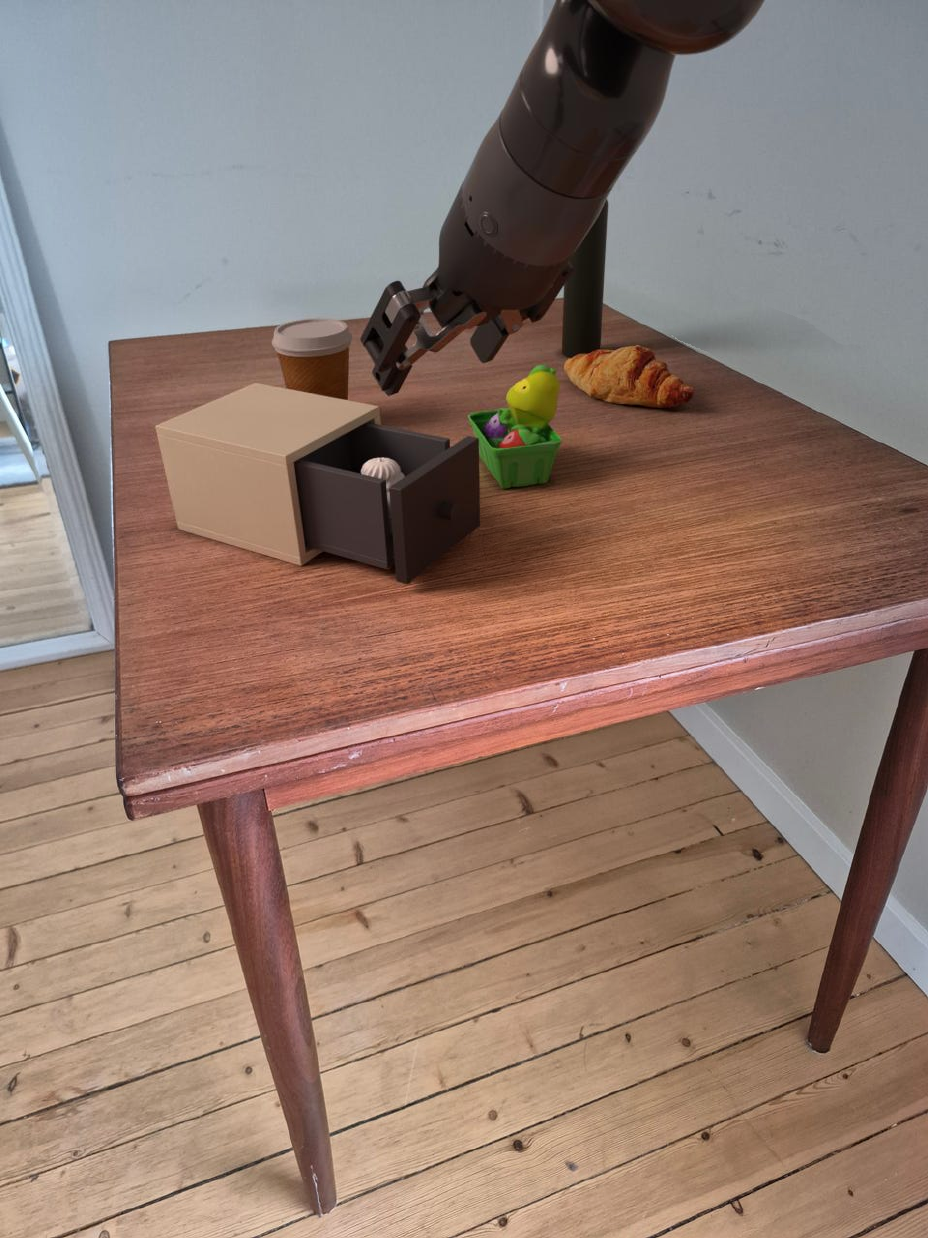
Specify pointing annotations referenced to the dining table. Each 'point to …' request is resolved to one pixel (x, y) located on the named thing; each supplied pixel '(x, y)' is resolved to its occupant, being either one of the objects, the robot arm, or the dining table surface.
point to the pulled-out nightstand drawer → (420, 502)
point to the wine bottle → (585, 292)
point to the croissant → (627, 378)
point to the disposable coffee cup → (314, 356)
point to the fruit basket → (521, 431)
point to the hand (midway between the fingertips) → (433, 367)
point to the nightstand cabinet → (251, 464)
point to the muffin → (384, 476)
